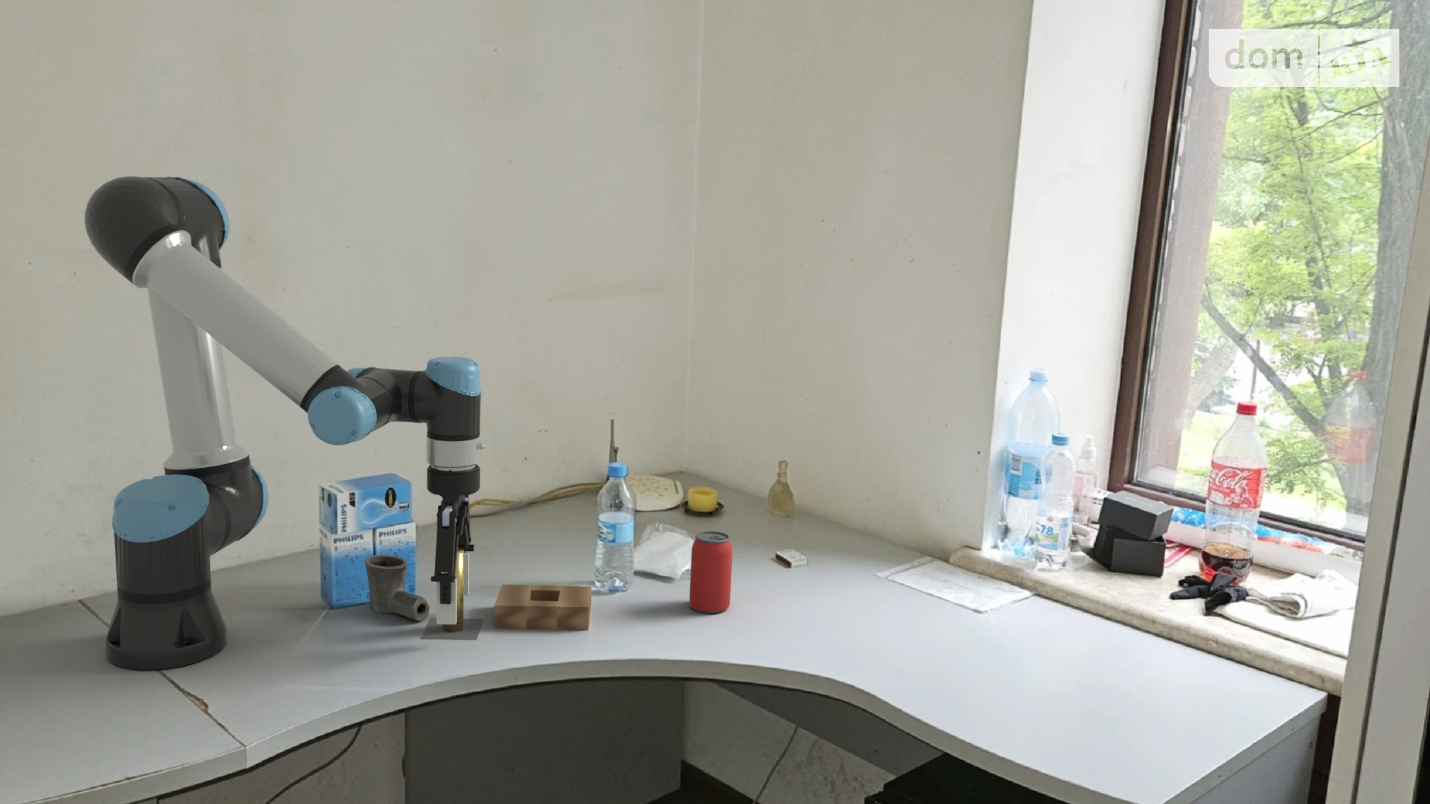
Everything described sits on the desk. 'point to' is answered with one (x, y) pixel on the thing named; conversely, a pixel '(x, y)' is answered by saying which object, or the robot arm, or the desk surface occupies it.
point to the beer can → (711, 572)
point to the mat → (468, 633)
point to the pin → (458, 595)
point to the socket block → (543, 607)
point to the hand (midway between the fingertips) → (453, 608)
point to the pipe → (393, 588)
